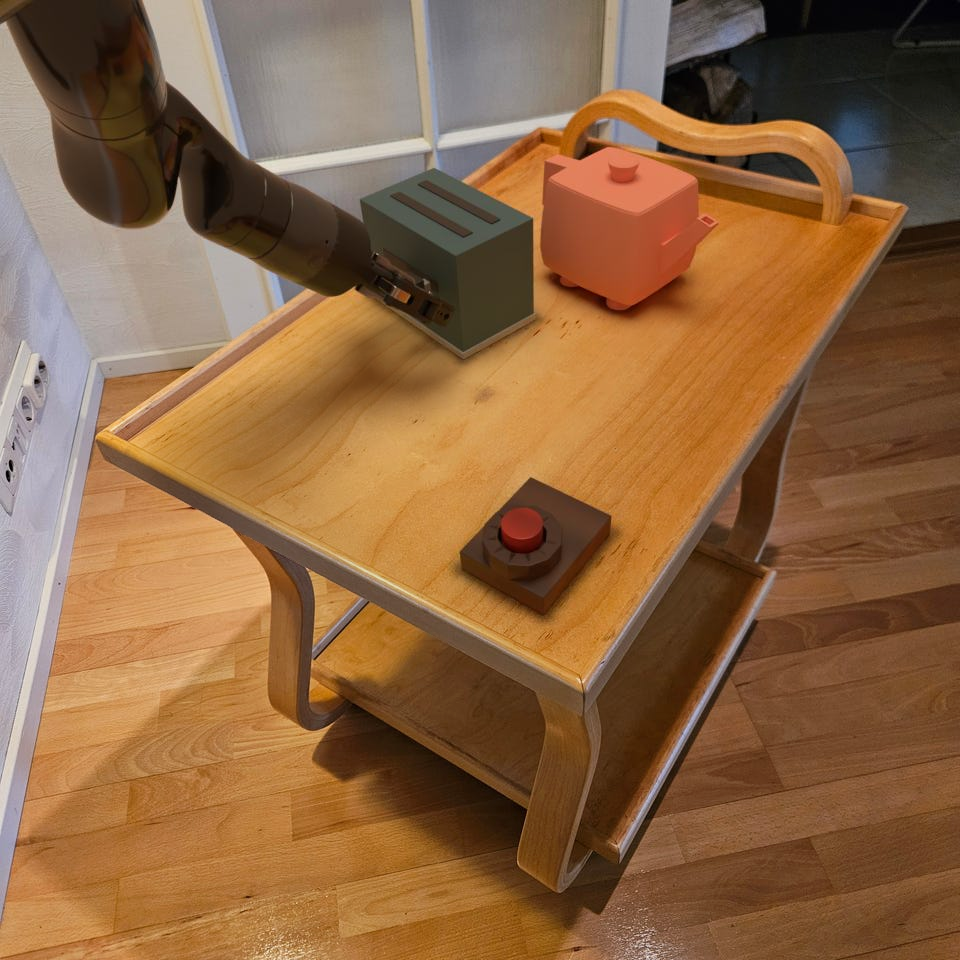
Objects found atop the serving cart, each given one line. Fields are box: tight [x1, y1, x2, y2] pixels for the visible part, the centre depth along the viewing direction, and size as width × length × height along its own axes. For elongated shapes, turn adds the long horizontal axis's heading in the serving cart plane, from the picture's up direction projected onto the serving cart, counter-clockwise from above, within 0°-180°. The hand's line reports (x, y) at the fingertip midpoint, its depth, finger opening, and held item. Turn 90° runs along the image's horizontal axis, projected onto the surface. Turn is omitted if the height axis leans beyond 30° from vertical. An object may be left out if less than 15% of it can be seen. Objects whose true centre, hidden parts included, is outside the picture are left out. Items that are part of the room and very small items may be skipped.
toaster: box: [359, 167, 537, 360], centre depth 88 cm, size 10×16×12 cm, turn 40°
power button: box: [501, 508, 543, 553], centre depth 63 cm, size 3×3×2 cm
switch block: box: [459, 476, 613, 616], centre depth 66 cm, size 10×8×4 cm
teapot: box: [539, 146, 720, 311], centre depth 90 cm, size 22×13×14 cm, turn 44°
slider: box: [398, 271, 431, 292], centre depth 83 cm, size 3×2×3 cm
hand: (422, 299), depth 84 cm, fingers open, 8 cm apart
